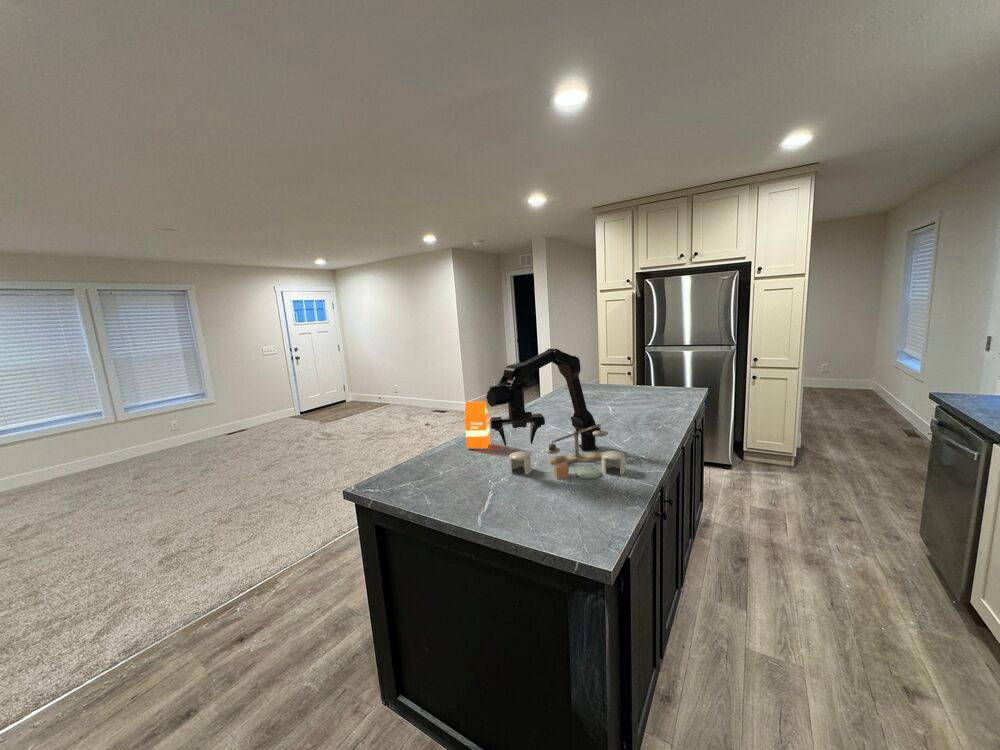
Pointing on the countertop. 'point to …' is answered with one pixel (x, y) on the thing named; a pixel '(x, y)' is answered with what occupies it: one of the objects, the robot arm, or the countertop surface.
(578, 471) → the dish
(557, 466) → the block
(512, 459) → the cover
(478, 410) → the orange juice
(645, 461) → the countertop surface
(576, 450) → the balance
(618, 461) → the cover
